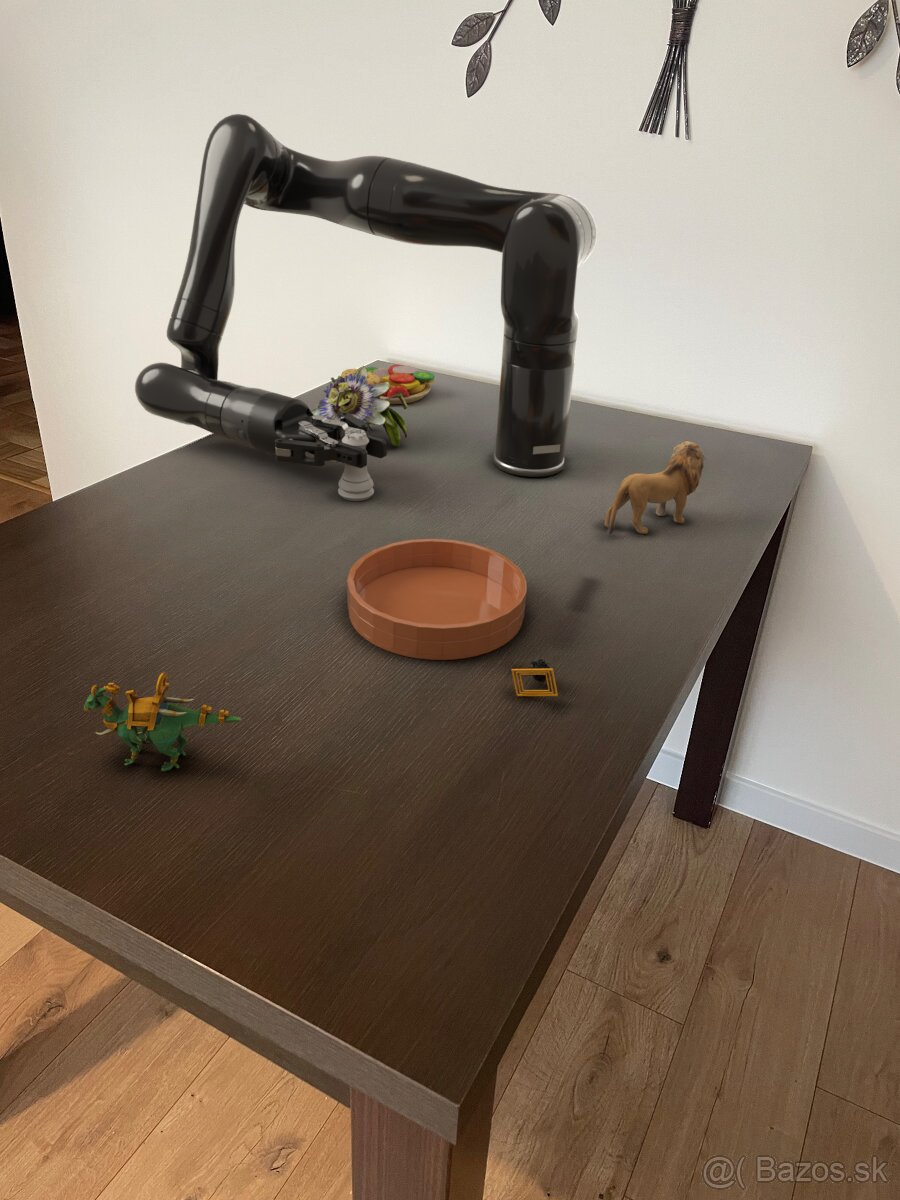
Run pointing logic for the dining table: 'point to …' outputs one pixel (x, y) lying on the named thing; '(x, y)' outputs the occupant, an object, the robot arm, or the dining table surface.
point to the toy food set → (399, 382)
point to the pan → (436, 599)
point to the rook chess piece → (355, 472)
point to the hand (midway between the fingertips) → (374, 454)
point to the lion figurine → (660, 487)
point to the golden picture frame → (536, 678)
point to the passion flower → (362, 403)
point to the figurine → (152, 719)
